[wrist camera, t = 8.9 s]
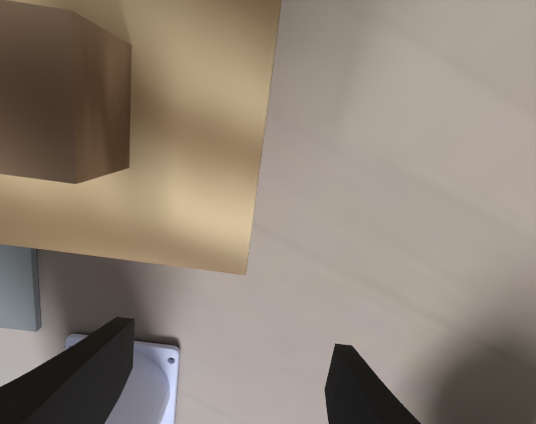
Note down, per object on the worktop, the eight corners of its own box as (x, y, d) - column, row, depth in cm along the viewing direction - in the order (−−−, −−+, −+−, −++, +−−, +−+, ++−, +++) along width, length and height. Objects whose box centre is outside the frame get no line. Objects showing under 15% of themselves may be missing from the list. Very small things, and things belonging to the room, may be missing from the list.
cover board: (246, 267, 16) (237, 325, 12) (-32, 232, 16) (-157, 277, 11) (288, -53, 12) (299, -159, 8) (-75, -111, 12) (-291, -260, 7)
